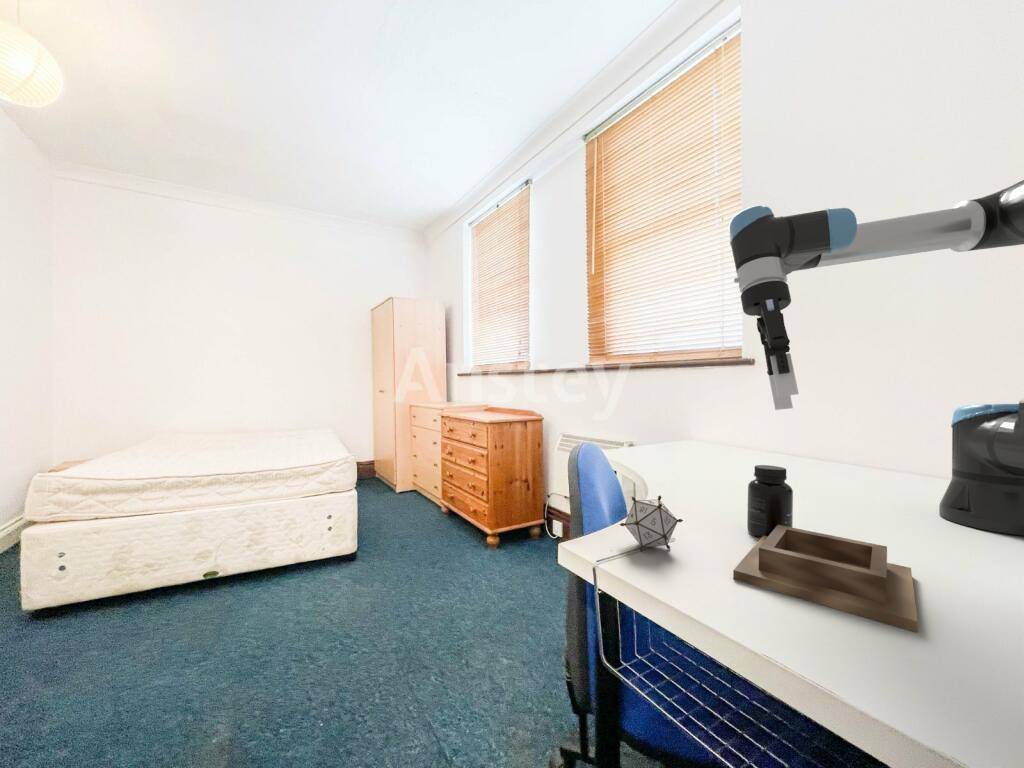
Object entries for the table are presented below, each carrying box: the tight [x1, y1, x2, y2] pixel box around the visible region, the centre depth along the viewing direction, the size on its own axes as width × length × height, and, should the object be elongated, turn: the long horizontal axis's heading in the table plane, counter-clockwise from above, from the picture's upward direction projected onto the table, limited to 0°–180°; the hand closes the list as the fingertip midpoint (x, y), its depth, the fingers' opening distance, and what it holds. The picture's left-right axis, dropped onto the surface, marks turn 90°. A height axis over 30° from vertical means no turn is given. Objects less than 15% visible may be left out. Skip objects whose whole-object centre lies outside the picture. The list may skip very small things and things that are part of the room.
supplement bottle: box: [746, 464, 794, 539], centre depth 74 cm, size 7×7×12 cm
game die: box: [619, 495, 684, 551], centre depth 68 cm, size 9×8×10 cm
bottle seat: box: [732, 525, 918, 633], centre depth 58 cm, size 18×18×4 cm
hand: (785, 402), depth 71 cm, fingers open, 13 cm apart
